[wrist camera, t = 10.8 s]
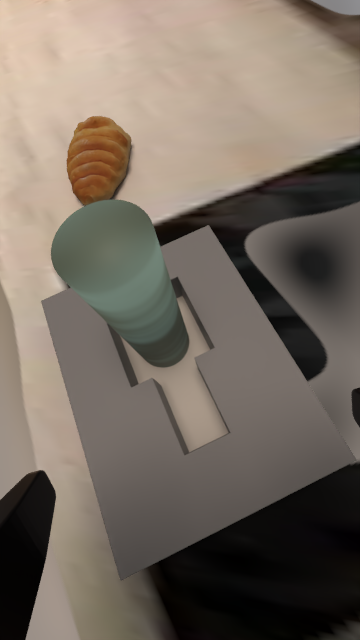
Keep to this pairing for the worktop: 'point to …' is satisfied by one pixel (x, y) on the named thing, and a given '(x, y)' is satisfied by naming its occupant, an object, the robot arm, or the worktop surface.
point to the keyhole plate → (190, 412)
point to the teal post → (123, 277)
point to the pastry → (97, 159)
